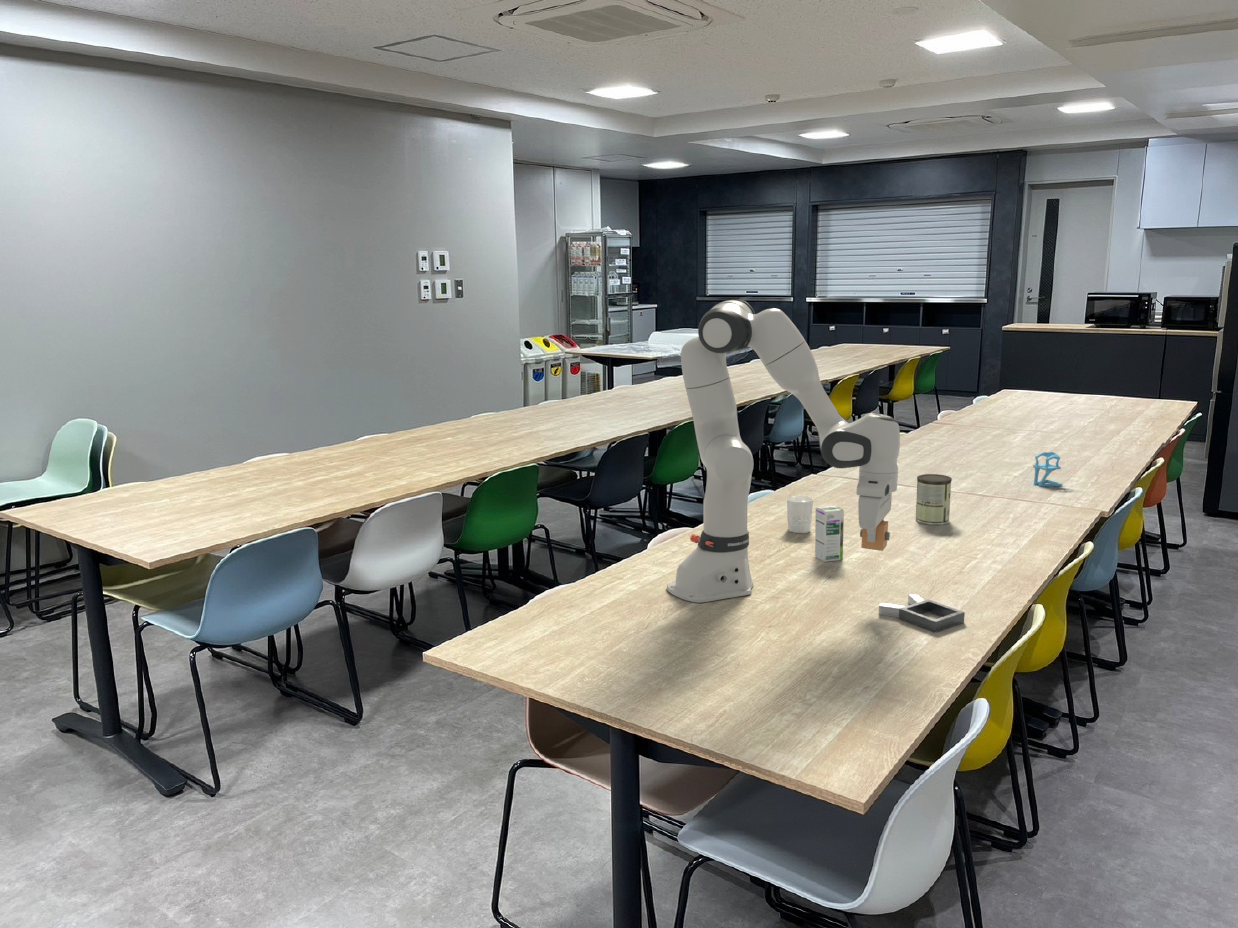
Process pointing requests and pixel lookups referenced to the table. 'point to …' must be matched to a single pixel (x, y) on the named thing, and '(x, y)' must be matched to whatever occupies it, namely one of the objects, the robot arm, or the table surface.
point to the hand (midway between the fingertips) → (874, 538)
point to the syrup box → (829, 533)
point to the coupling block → (881, 537)
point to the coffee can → (933, 499)
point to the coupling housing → (921, 606)
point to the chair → (1046, 469)
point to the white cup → (799, 513)
